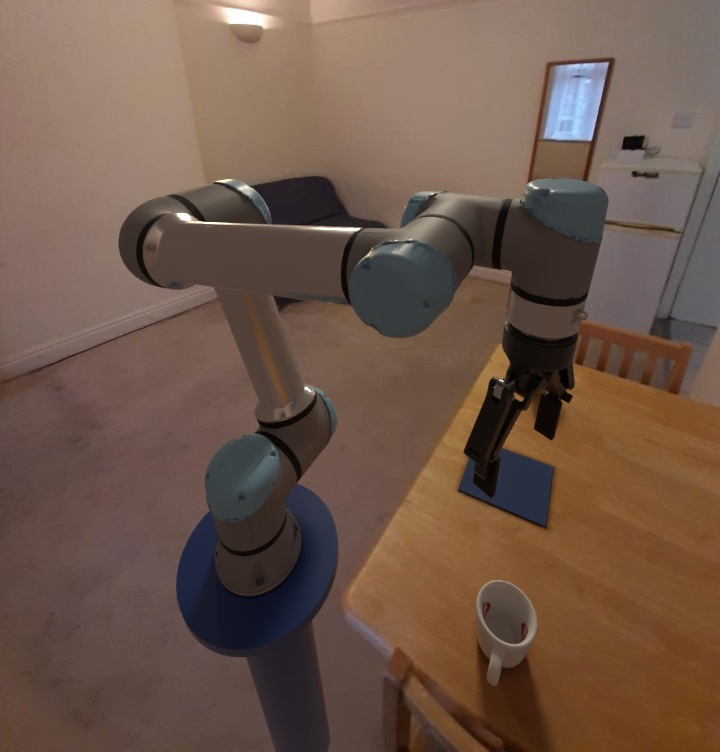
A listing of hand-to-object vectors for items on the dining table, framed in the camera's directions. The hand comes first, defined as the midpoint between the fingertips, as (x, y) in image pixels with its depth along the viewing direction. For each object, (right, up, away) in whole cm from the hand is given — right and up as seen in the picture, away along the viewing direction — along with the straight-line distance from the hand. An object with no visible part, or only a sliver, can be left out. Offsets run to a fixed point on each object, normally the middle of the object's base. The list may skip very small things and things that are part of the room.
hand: (515, 459), depth 53 cm
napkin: (+9, -17, +28) cm, 34 cm away
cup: (-1, -29, +4) cm, 30 cm away
